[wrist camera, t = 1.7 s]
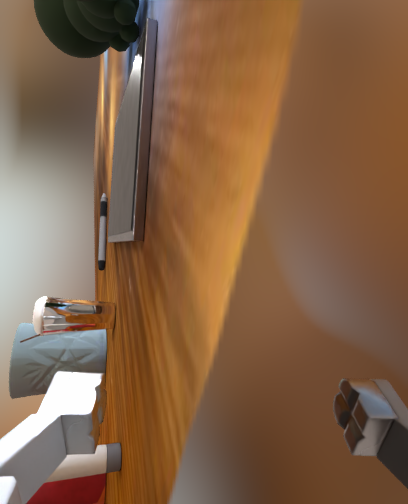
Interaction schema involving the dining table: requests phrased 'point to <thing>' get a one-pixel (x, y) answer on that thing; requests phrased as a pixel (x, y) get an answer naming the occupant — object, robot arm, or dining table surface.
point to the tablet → (133, 145)
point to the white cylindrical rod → (89, 463)
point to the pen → (102, 233)
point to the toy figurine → (88, 25)
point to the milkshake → (71, 316)
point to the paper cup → (72, 491)
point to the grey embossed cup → (52, 358)
